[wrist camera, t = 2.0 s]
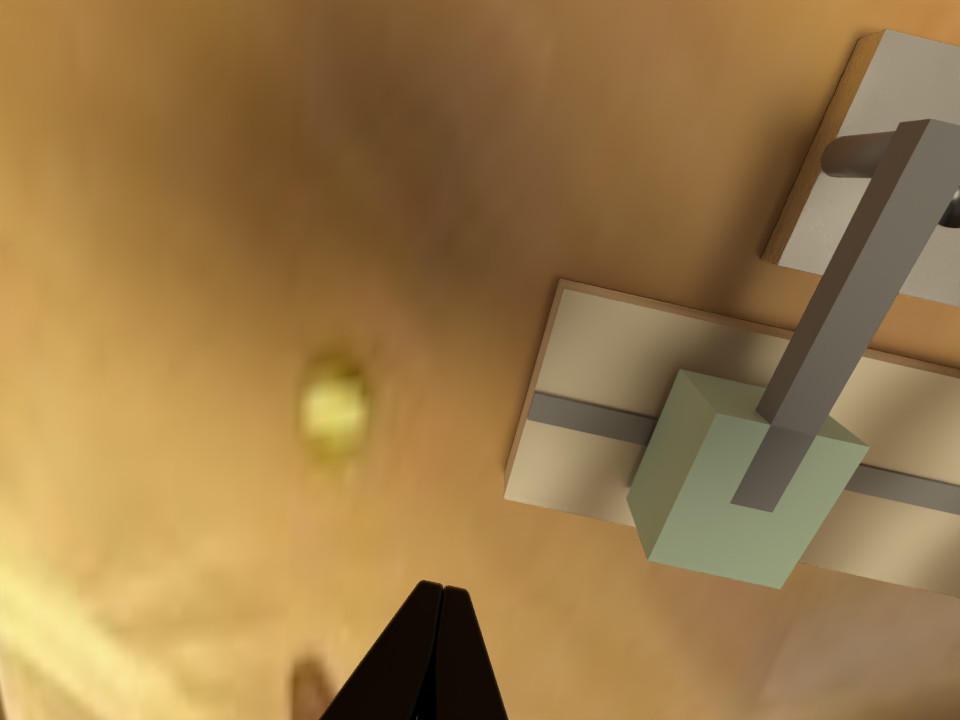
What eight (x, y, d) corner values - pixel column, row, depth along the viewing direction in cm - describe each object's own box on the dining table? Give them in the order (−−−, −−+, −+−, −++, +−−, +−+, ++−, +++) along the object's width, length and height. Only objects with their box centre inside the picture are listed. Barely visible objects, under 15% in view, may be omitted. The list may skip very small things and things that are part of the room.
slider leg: (925, 154, 12) (1058, 149, 9) (732, 514, 17) (779, 589, 14) (775, 118, 12) (861, 102, 9) (623, 491, 17) (647, 560, 14)
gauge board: (1397, 278, 14) (1810, 328, 10) (1080, 599, 19) (1253, 730, 15) (612, 91, 13) (661, 54, 9) (504, 474, 19) (501, 570, 14)
